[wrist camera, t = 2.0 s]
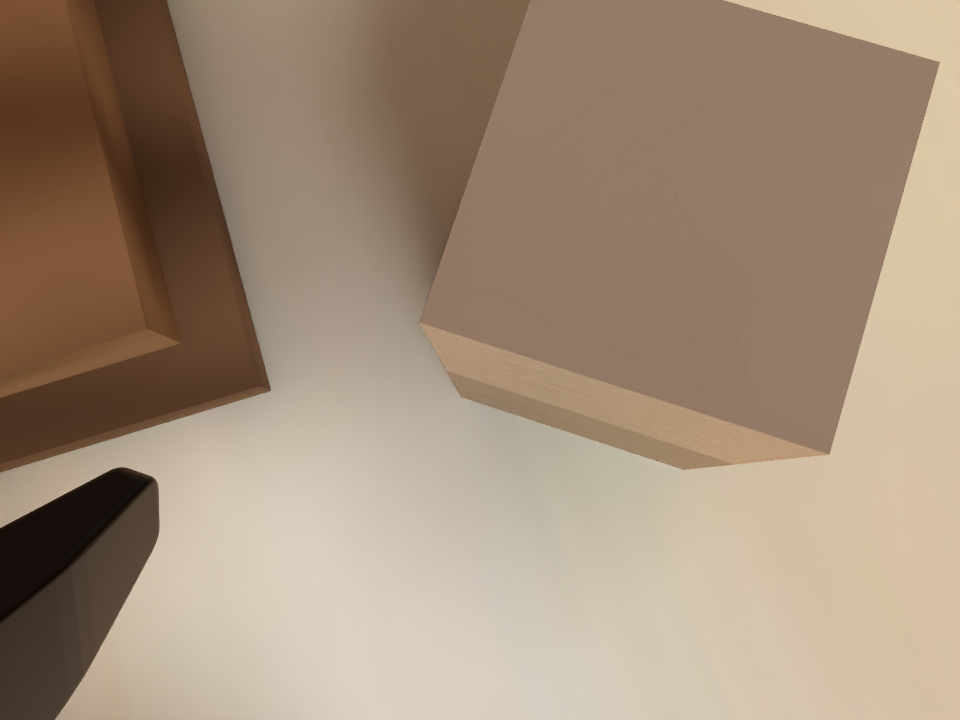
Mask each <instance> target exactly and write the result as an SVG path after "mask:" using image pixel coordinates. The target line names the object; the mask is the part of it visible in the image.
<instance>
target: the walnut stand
mask: <svg viewBox="0 0 960 720" xmlns="http://www.w3.org/2000/svg"><path fill="white" fill-rule="evenodd" d="M268 391H271V390H270V386H269V382H268V379H267V375H266V371H265V367H264V364H263V360H262V356H261V352H260V349H259V345H258V341H257V337H256V334H255V330H254V326H253V323H252V319H251V315H250V311H249V308H248V304H247V300H246V296H245V293H244V289H243V285H242V281H241V278H240V274H239V270H238V266H237V263H236V259H235V255H234V251H233V248H232V244H231V240H230V236H229V233H228V229H227V225H226V221H225V218H224V214H223V210H222V206H221V203H220V199H219V195H218V191H217V188H216V184H215V180H214V177H213V173H212V169H211V165H210V162H209V158H208V154H207V150H206V147H205V143H204V139H203V135H202V132H201V128H200V124H199V120H198V117H197V113H196V109H195V105H194V102H193V98H192V94H191V90H190V87H189V83H188V79H187V75H186V72H185V68H184V64H183V60H182V57H181V53H180V49H179V45H178V42H177V38H176V34H175V31H174V27H173V23H172V19H171V16H170V12H169V8H168V4H167V1H166V0H0V472H3V471H6V470H9V469H13V468H16V467H19V466H23V465H26V464H29V463H33V462H36V461H39V460H43V459H46V458H49V457H53V456H56V455H59V454H63V453H66V452H69V451H72V450H76V449H79V448H82V447H86V446H89V445H92V444H96V443H99V442H102V441H106V440H109V439H112V438H116V437H119V436H122V435H126V434H129V433H132V432H135V431H139V430H142V429H145V428H149V427H152V426H155V425H159V424H162V423H165V422H169V421H172V420H175V419H179V418H182V417H185V416H189V415H192V414H195V413H198V412H202V411H205V410H208V409H212V408H215V407H218V406H222V405H225V404H228V403H232V402H235V401H238V400H242V399H245V398H248V397H252V396H255V395H258V394H262V393H265V392H268Z"/></svg>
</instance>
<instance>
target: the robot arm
mask: <svg viewBox="0 0 960 720" xmlns="http://www.w3.org/2000/svg"><path fill="white" fill-rule="evenodd" d="M159 526H160V525H159V491H158V483H157V482H156V480H155V479H154V478H153V477H151V476H149V475H146V474H143V473H140V472H137V471H134V470H131V469H128V468H123V467H121V468H115V469H112V470H110V471H108V472H106V473H104V474H102V475H101V476H99V477H97V478H95V479H93V480H91V481H89V482H87V483H85V484H83V485H82V486H80V487H78V488H76V489H74V490H72V491H70V492H68V493H66V494H64V495H62V496H61V497H59V498H57V499H55V500H53V501H51V502H49V503H47V504H45V505H43V506H42V507H40V508H38V509H36V510H34V511H32V512H30V513H28V514H26V515H24V516H22V517H21V518H19V519H17V520H15V521H13V522H11V523H9V524H7V525H5V526H3V527H2V528H0V720H55V719H56V717H57V716H58V715H59V713H60V712H61V710H62V709H63V707H64V706H65V704H66V703H67V701H68V700H69V699H70V697H71V696H72V694H73V693H74V691H75V689H76V688H77V686H78V685H79V683H80V682H81V680H82V679H83V677H84V676H85V674H86V672H87V670H88V669H89V667H90V665H91V663H92V662H93V660H94V658H95V656H96V655H97V653H98V651H99V649H100V647H101V645H102V643H103V642H104V640H105V638H106V636H107V634H108V632H109V631H110V629H111V627H112V625H113V623H114V621H115V619H116V618H117V616H118V614H119V612H120V610H121V608H122V606H123V605H124V603H125V601H126V599H127V597H128V595H129V593H130V592H131V590H132V588H133V586H134V584H135V582H136V580H137V579H138V577H139V575H140V573H141V571H142V569H143V568H144V566H145V564H146V562H147V560H148V558H149V556H150V555H151V553H152V551H153V549H154V546H155V544H156V542H157V538H158V534H159Z"/></svg>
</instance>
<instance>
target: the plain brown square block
mask: <svg viewBox="0 0 960 720" xmlns="http://www.w3.org/2000/svg"><path fill="white" fill-rule="evenodd" d="M939 63H940V62H937V61H933V60H930V59H926V58H923V57H919V56H916V55H912V54H909V53H905V52H902V51H898V50H895V49H891V48H888V47H884V46H881V45H877V44H874V43H870V42H867V41H863V40H860V39H856V38H853V37H849V36H846V35H842V34H839V33H835V32H832V31H828V30H825V29H821V28H818V27H814V26H811V25H807V24H804V23H800V22H797V21H793V20H790V19H786V18H783V17H779V16H776V15H772V14H769V13H765V12H762V11H758V10H755V9H751V8H748V7H744V6H741V5H737V4H734V3H730V2H727V1H723V0H530V2H529V5H528V8H527V11H526V14H525V17H524V20H523V23H522V26H521V29H520V32H519V34H518V37H517V40H516V43H515V46H514V49H513V52H512V55H511V58H510V61H509V64H508V66H507V69H506V72H505V75H504V78H503V81H502V84H501V87H500V90H499V93H498V95H497V98H496V101H495V104H494V107H493V110H492V113H491V116H490V119H489V122H488V125H487V127H486V130H485V133H484V136H483V139H482V142H481V145H480V148H479V151H478V154H477V157H476V159H475V162H474V165H473V168H472V171H471V174H470V177H469V180H468V183H467V186H466V189H465V191H464V194H463V197H462V200H461V203H460V206H459V209H458V212H457V215H456V218H455V221H454V223H453V226H452V229H451V232H450V235H449V238H448V241H447V244H446V247H445V250H444V253H443V255H442V258H441V261H440V264H439V267H438V270H437V273H436V276H435V279H434V282H433V285H432V287H431V290H430V293H429V296H428V299H427V302H426V305H425V308H424V311H423V314H422V317H421V319H420V322H419V323H420V324H421V326H422V328H423V330H424V332H425V333H426V335H427V337H428V339H429V340H430V342H431V344H432V346H433V347H434V349H435V351H436V353H437V354H438V356H439V358H440V360H441V361H442V363H443V365H444V367H445V369H446V370H447V372H448V374H449V376H450V377H451V379H452V381H453V383H454V384H455V386H456V388H457V390H458V391H459V393H460V395H461V397H463V398H466V399H469V400H472V401H475V402H478V403H481V404H484V405H487V406H491V407H494V408H497V409H500V410H503V411H506V412H509V413H512V414H515V415H518V416H521V417H524V418H527V419H530V420H533V421H536V422H539V423H542V424H546V425H549V426H552V427H555V428H558V429H561V430H564V431H567V432H570V433H573V434H576V435H579V436H582V437H585V438H588V439H591V440H594V441H598V442H601V443H604V444H607V445H610V446H613V447H616V448H619V449H622V450H625V451H628V452H631V453H634V454H637V455H640V456H643V457H646V458H649V459H653V460H656V461H659V462H662V463H665V464H668V465H671V466H674V467H677V468H680V469H683V470H686V469H696V468H705V467H715V466H724V465H734V464H743V463H753V462H762V461H772V460H781V459H791V458H800V457H810V456H819V455H829V454H830V450H831V446H832V443H833V439H834V436H835V432H836V429H837V425H838V422H839V418H840V414H841V411H842V407H843V404H844V400H845V397H846V393H847V390H848V386H849V383H850V379H851V375H852V372H853V368H854V365H855V361H856V358H857V354H858V351H859V347H860V343H861V340H862V336H863V333H864V329H865V326H866V322H867V319H868V315H869V311H870V308H871V304H872V301H873V297H874V294H875V290H876V287H877V283H878V280H879V276H880V272H881V269H882V265H883V262H884V258H885V255H886V251H887V248H888V244H889V240H890V237H891V233H892V230H893V226H894V223H895V219H896V216H897V212H898V209H899V205H900V201H901V198H902V194H903V191H904V187H905V184H906V180H907V177H908V173H909V169H910V166H911V162H912V159H913V155H914V152H915V148H916V145H917V141H918V138H919V134H920V130H921V127H922V123H923V120H924V116H925V113H926V109H927V106H928V102H929V98H930V95H931V91H932V88H933V84H934V81H935V77H936V74H937V70H938V67H939Z"/></svg>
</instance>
